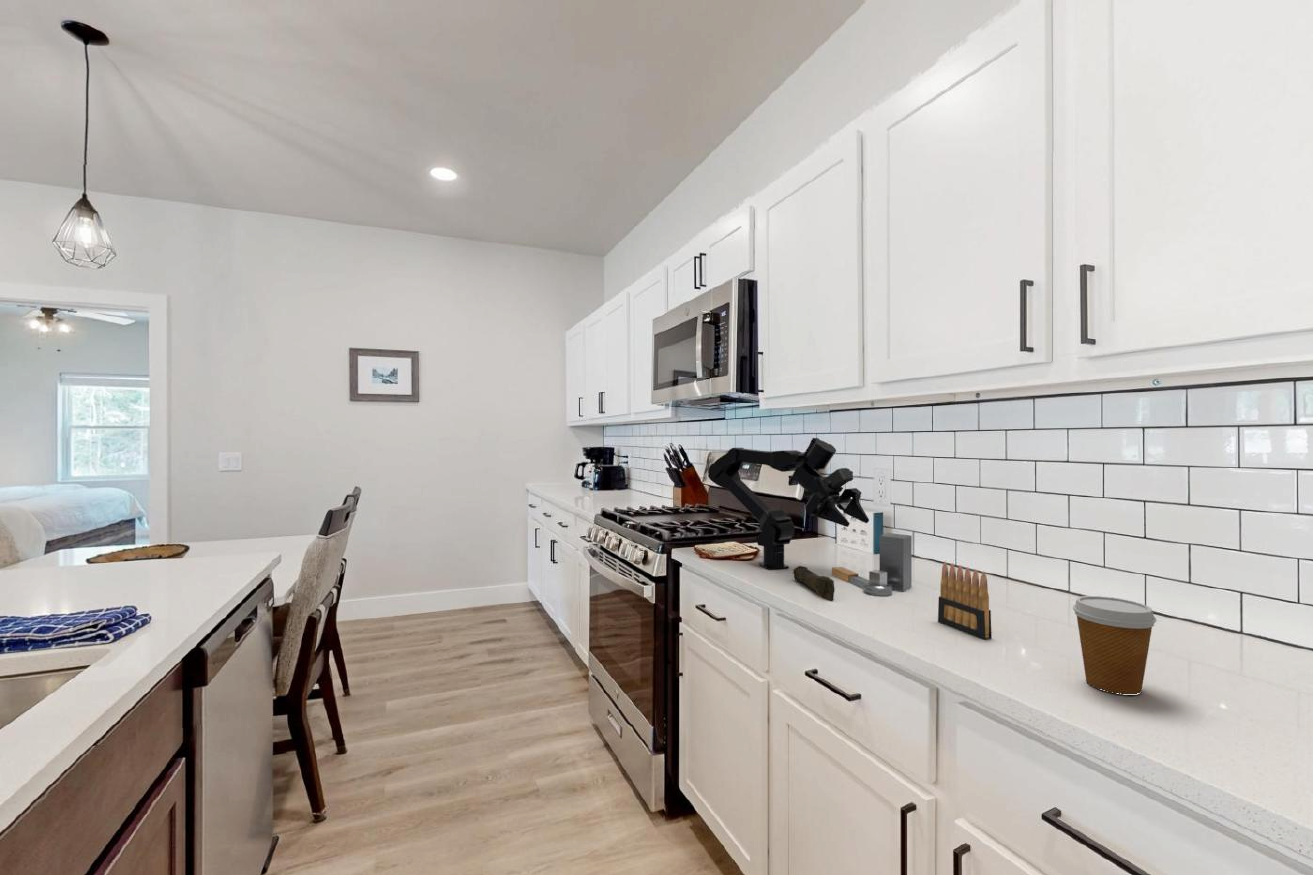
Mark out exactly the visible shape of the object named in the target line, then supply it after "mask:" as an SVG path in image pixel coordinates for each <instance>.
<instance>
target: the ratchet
mask: <svg viewBox="0 0 1313 875" xmlns="http://www.w3.org/2000/svg"><path fill="white" fill-rule="evenodd" d="M831 575H832V576H833V575H834V577H835V576H836V578H837V577H838V578H837V579H840V580H842V581H845V582H846V583H850V584H852V585H853V586H855V587H859V588H861V589H863V590H864V591H863V592H864V594H866V595H869V596H872V597H877V598H878V597H881V598H884V597H885V598H886V597H891V596H892V595H893V590H892V585H891V584H888V583H887V572H884V571H880V570H878V569H875V570H874V569H873V570H870V571H869V570H868V579H867V578H865V577H862V576H859V573H858V572H855V571H852V570H850V569H847V568H845V567H843V566H835V567H831Z"/></svg>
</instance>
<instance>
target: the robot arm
mask: <svg viewBox="0 0 1313 875" xmlns="http://www.w3.org/2000/svg"><path fill="white" fill-rule="evenodd" d="M836 452H837V449H836V448H835V447H834V446H833V445H832V444H831V443H828V442H826V441H824V440H821V439H820V438H819V437H812V438H811V440H810V442H809V445H808V446H807V447H806V450H805V452H801V451H800V450H796V449H794V450H788V449H787V450H775V451H769V450H768V451H767V450H759V449H758V450H757V449H750V448H744V447H732V448H729V449H728V451H727V452H726V453H725V454H723V455H722V456H720V457H719V458H718V459H716V460H715V461H714V462H712V463H711V464H710V465H709V467H708V472H707V474H708V475H707V476H708V479H709V480H710V481H711V482H712V483H714V484H715V485H716V486H718V487H721V488H723V489H725V490H727V491H729V493H731V494H732V495H733V496H734V498H735V499H737V500H738V501H739V502H740V504H741V505H742V506H743V507H744V508H745V509H746V511H748V512H749V513H750V514H751V515H752V516H753V517H754V518H755V519H756V520H757V522H758V523H759V524H758V525H759V527H760V528H759V529H760V530H761V532H760V533H759V534H758V535H757V536H756V537H755V540H756V544H757V545H758V546H760V547H762V548H763V551H762V552H763V554H762V555H763V557H762V558H763V559H762V560H763V562H759V563H758V565H759V566H761V567H763V568H765V569H766V570H777V569H778V570H779V569H780V570H782V569H789V568H790V565H787V564H785V545H789V544H790V543H791V541H792V538H793V537H794V535H795V531H796V530H795V524H794V522H793V521H792V519H793V518H792V517H790V516H788V515H787V514H786V512H785V511H784V510H783V509H776V510H772V509H771V508H770V507H769V506H768V505H767V503H765V501H763V500H762V499H761V498H760V497H759V496H758V495H757V494H756V493H755V492H754V491H753V490H752V489H751V488H749V486H748V485H747V484H746V483H744V482H743V481H742V479H741V476H740V471H739V470H741V468H742V466H743V463H748V464H750V463H751V464H758V465H764V466H768V467H770V468H771V469H773V470H777V471H780V472H783V473H785V472H786V473H787V472H793V473H792V474H791V475H788V476H787V477H788V486H797V485H799V486H800V487H801V488H802V489H804V490H805V491H806V492H807V493H806V496H807V497H808V498H809V500H807V502H806V504H805V505H804V508H805V509H804V511H805V512H806V513H807V514H808V515H809V516H810V517H812V516H813V517H815V518H819V519H822V520H824V521H828V522H831V523H833V524H838V525H840V526H843V527H846V528H848V527H849V526H850V521H849V520H848V519H847V518H846V517H845V515H844V514H846V515H848V516H850V517H852V518H853V519H856V520H859V521H860V522H863V523H865V524H868V523H869V522H870V518H869V517H868V515H867V514H866V512H865V511H864V509H863V507H862V505H861V503H860V500H861V497H862V491H860V490H859V489H858V488H857V487H854V488H853V487H852V488H845V489H844V487H843V486H844V485H846V484H848V482H852V481H853V480H854V475H853V474H854V472H853V471H852V470H851V469H850V468H847V467H843V468H842V467H841V468H838V469H835V470H833V472H831V473H830V474H829V475H827V476H824V475H822V474H821V473H820V472H818V471H819V470H825V469H826V468H827V466H828V464H829V463H830V461H831V460H832V459H833V457H834V455H835V453H836ZM843 489H844V490H843ZM841 492H842V493H841ZM840 510H841V511H842V512H841V511H840ZM843 513H844V514H843Z"/></svg>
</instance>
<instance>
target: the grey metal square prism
mask: <svg viewBox="0 0 1313 875" xmlns="http://www.w3.org/2000/svg"><path fill="white" fill-rule="evenodd" d="M912 538H913V537H912V535H909V534H900V533H893V532H887V533H883V534H882V535H879V570H880V571H884V572H887V583H888V584H891V585H892V591H896V592H900V593H901V592H902V593H903V592H906V591H908V590H909V589H912V587H913V585H912V581H913V580H912V578H913V577H912V560H913V558H912V555H913V554H912V545H913V542H912Z"/></svg>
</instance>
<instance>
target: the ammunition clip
mask: <svg viewBox="0 0 1313 875" xmlns="http://www.w3.org/2000/svg"><path fill="white" fill-rule="evenodd" d="M939 591H940V595H939V596H938V603H937V604H938V606H937V612H938V613H937V622H938V623H939V624H941V625H944V626H947V627H950V628H952V629H955V630H958V631H959V632H963V633H965V634H967V635H970V636H973V637H975V638H978V639H981V640H983V641H985V640H990V639H992V636H993V635H992V633H993V632H992V611H991V609H990V595H989V588H988V578H987V575H986V571H982V572H981V576H980V577H979V572H978V570H977V569H976V568H975V569H974V570H973V573H972V574H971V571H970V568H969V566H968V567H966V568H965V570H964V571H963V568H962V565H959V566H958V568H957V571H956V568H955V565H954V563H951V564H950V567H949V566H948V563H947V562H946V561H944V562H943V564H942V568H941V580H940V590H939Z"/></svg>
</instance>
